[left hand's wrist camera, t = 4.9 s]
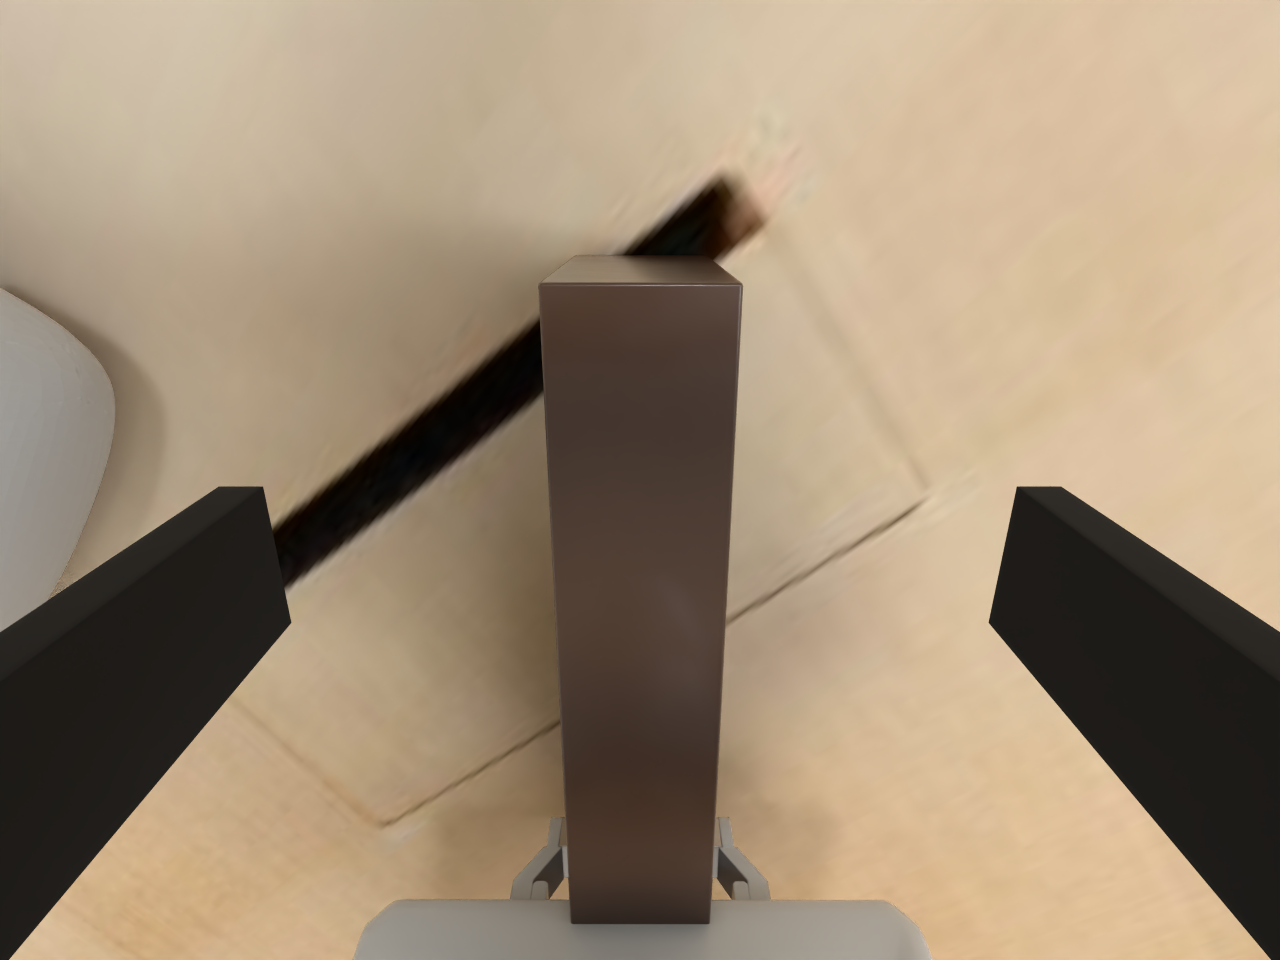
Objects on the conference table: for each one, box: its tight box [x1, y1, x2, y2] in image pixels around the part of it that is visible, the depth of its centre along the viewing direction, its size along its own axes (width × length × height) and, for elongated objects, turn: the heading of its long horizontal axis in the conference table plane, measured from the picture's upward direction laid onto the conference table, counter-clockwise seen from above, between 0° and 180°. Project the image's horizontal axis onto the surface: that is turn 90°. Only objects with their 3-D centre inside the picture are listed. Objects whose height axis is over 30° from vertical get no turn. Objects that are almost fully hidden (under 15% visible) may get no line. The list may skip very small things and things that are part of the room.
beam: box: [539, 255, 743, 924], centre depth 27 cm, size 28×5×10 cm, turn 0°
